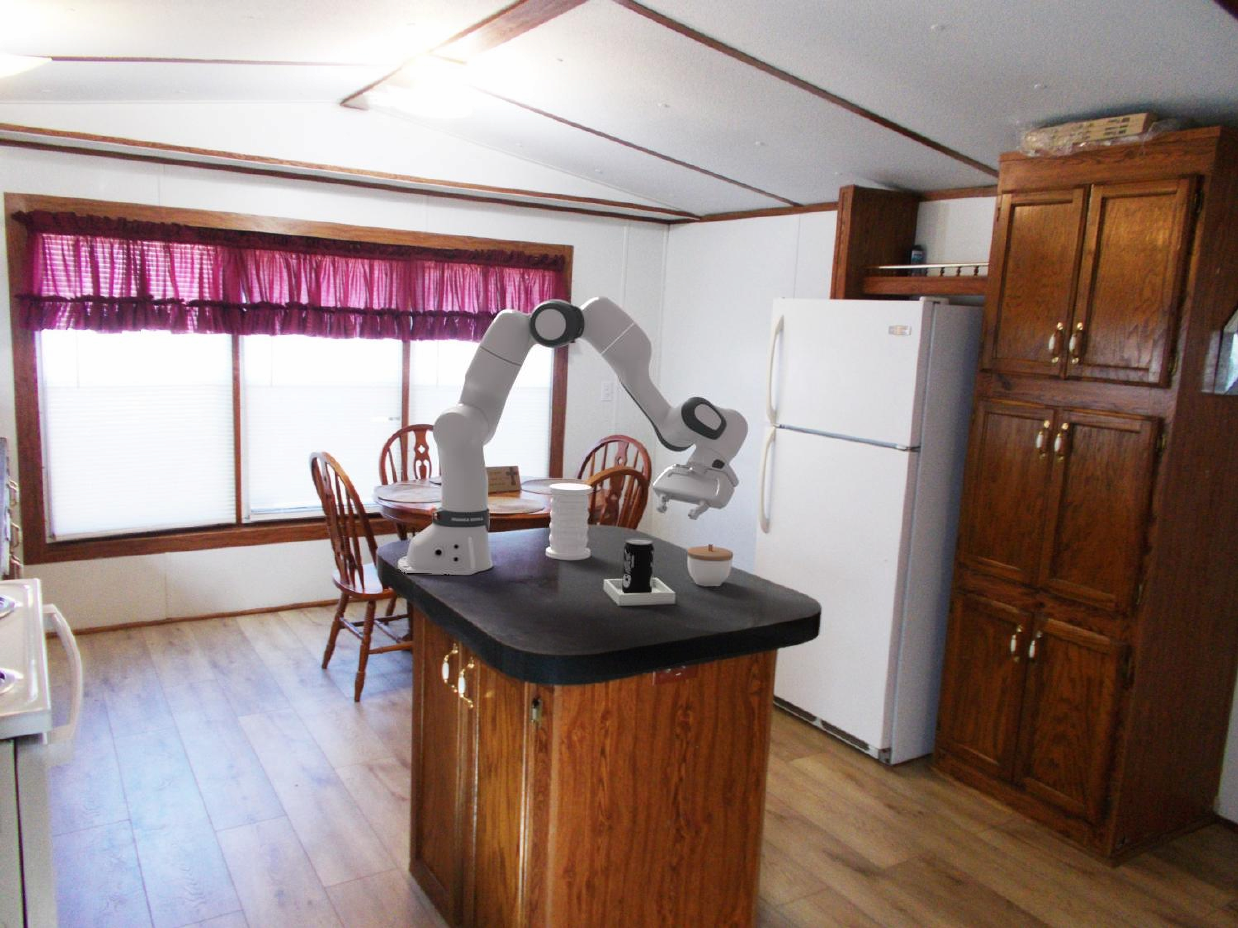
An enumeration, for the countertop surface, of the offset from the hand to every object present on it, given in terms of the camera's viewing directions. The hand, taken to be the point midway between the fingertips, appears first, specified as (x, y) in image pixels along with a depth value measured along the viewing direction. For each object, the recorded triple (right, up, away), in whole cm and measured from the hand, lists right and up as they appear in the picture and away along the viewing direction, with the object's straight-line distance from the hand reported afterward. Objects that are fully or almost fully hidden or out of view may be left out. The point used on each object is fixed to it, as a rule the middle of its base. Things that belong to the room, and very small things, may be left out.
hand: (675, 514), depth 206 cm
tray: (-9, -18, -6) cm, 20 cm away
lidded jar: (+8, -17, +9) cm, 21 cm away
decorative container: (-26, -12, +31) cm, 42 cm away
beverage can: (-9, -17, -6) cm, 20 cm away
